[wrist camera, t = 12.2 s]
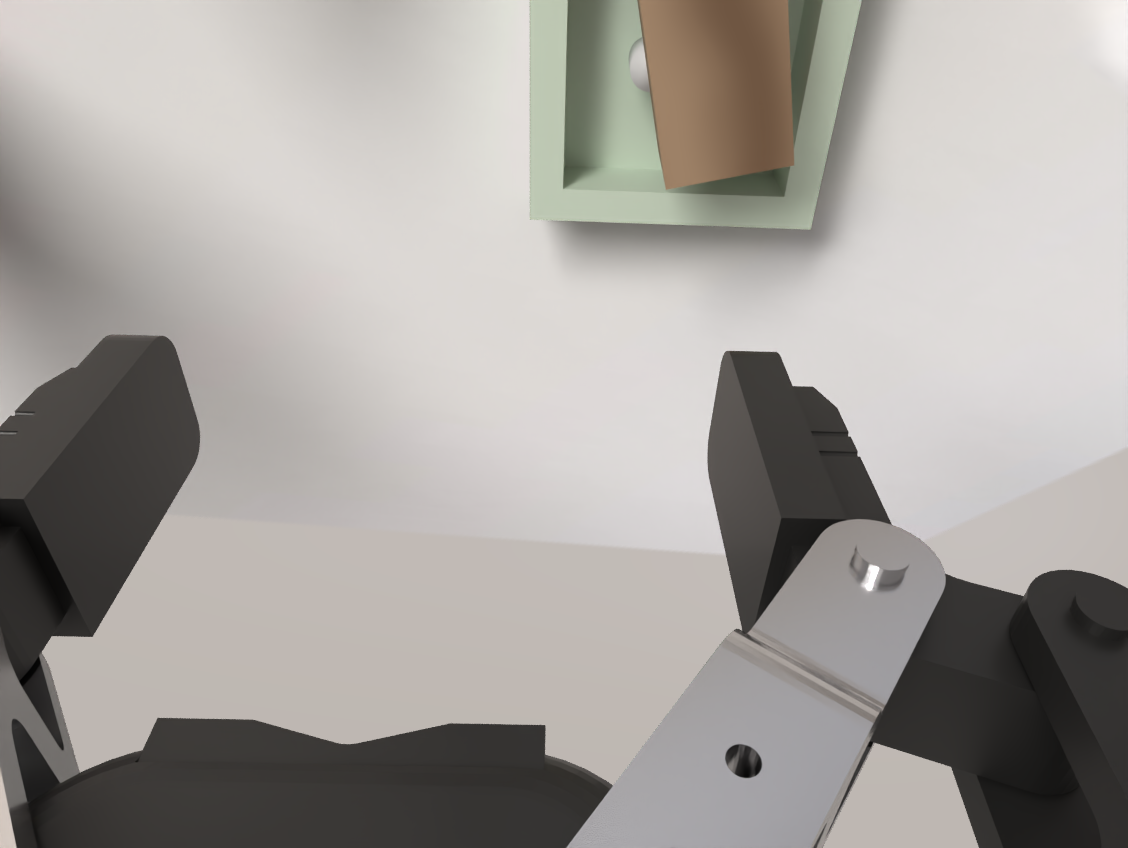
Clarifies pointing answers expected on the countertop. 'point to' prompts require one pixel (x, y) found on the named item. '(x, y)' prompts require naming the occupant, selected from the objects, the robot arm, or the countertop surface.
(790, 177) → the pale green tray
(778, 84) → the walnut plank
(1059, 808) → the robot arm
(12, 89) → the countertop surface
